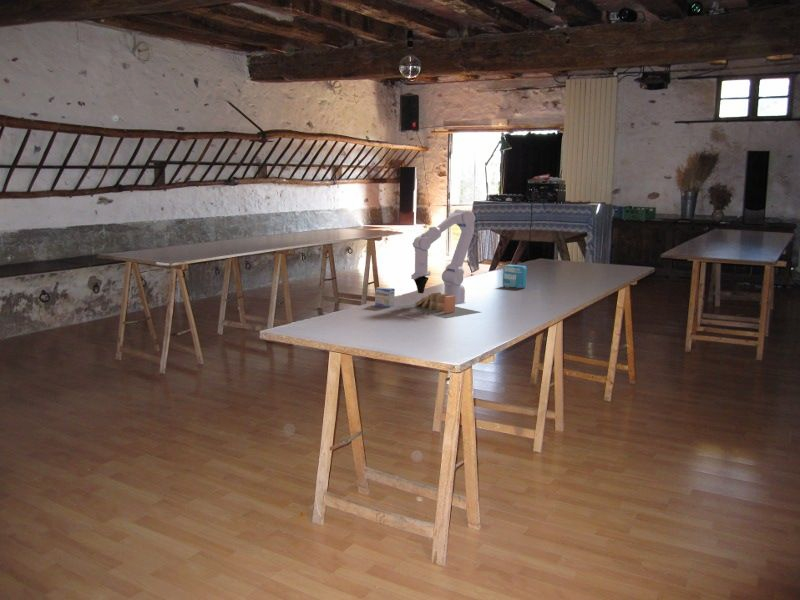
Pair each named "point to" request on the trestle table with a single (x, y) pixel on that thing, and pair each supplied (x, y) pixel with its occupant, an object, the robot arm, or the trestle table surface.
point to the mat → (433, 312)
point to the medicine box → (384, 297)
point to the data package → (514, 276)
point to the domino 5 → (449, 304)
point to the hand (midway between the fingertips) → (420, 293)
